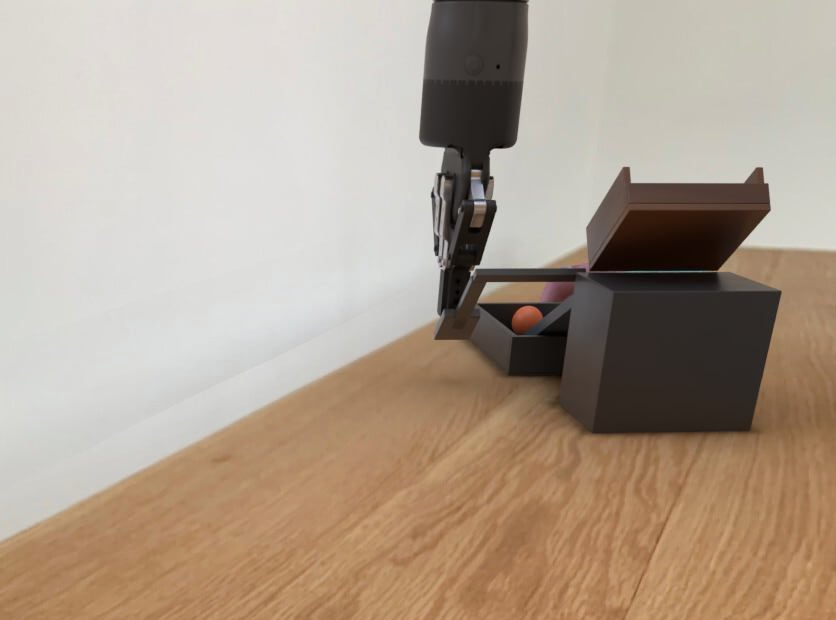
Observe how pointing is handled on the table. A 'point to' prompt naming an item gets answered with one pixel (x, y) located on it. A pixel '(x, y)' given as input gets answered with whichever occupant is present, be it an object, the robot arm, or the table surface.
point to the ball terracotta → (525, 319)
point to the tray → (518, 341)
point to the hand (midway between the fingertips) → (451, 317)
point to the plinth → (666, 351)
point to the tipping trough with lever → (641, 237)
